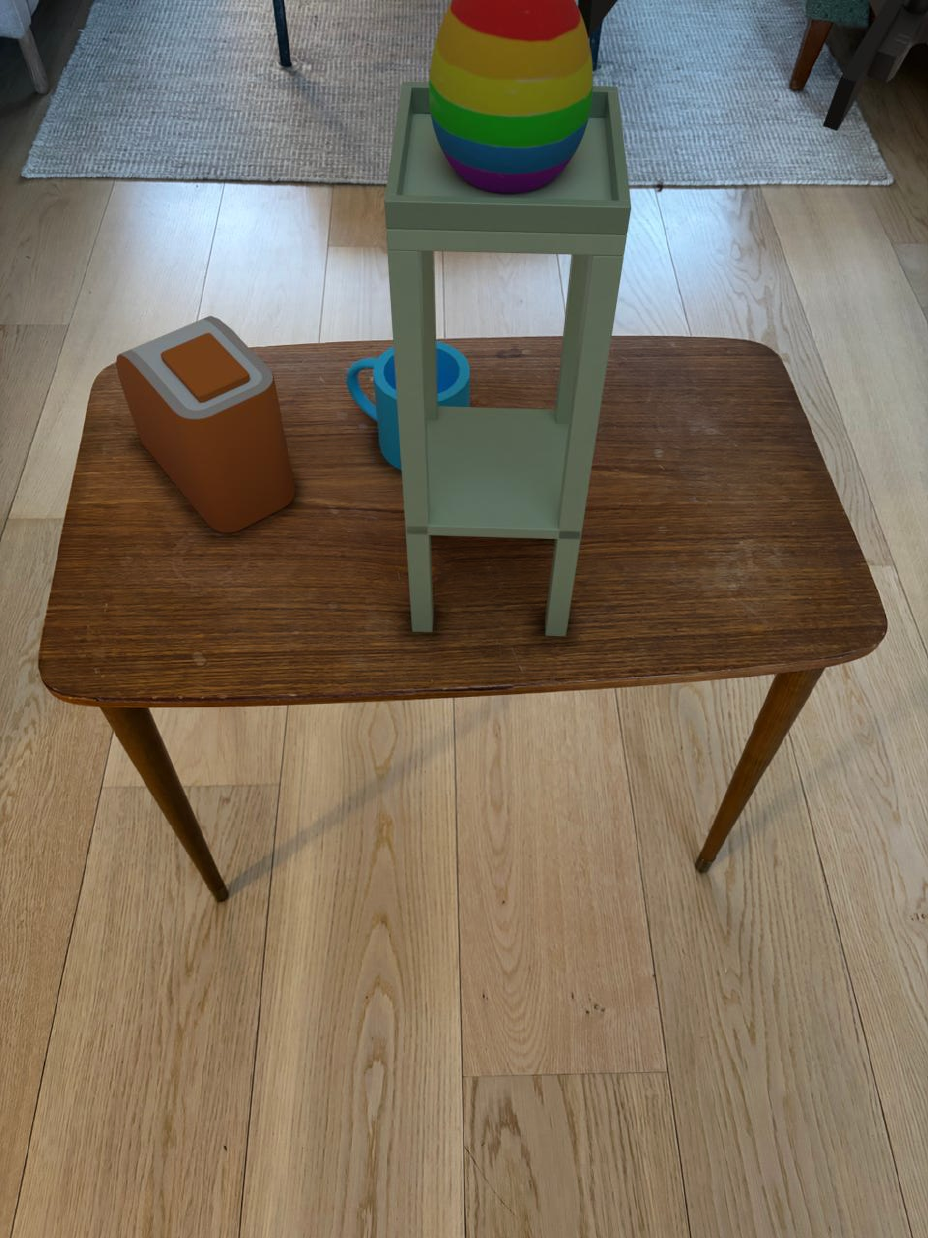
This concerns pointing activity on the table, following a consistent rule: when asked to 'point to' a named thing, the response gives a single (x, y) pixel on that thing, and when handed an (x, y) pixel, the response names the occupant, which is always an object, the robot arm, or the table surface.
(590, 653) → the table surface
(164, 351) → the alarm clock
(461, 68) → the decorative egg
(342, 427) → the table surface
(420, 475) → the stand
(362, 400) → the mug
